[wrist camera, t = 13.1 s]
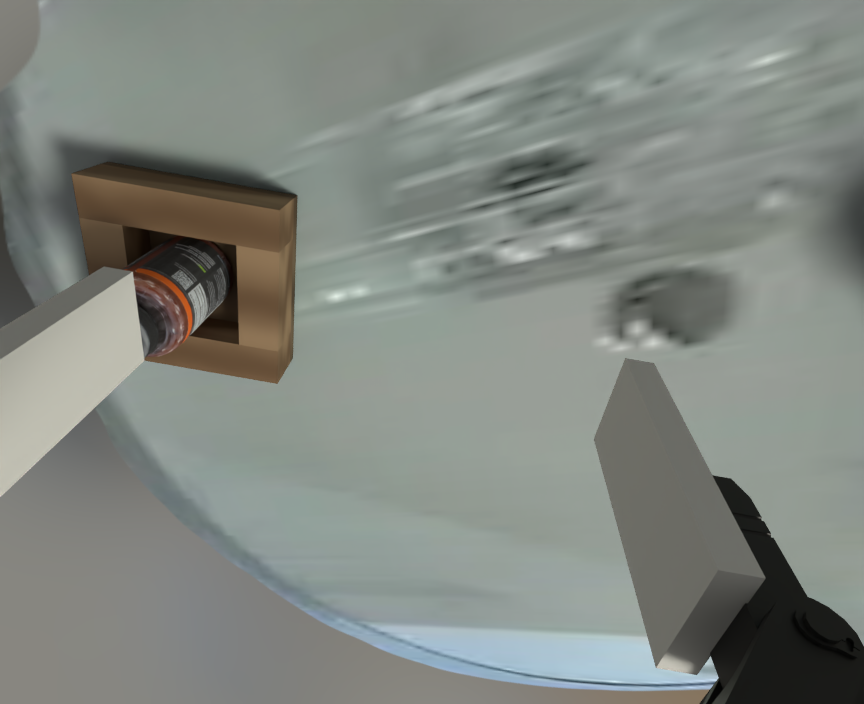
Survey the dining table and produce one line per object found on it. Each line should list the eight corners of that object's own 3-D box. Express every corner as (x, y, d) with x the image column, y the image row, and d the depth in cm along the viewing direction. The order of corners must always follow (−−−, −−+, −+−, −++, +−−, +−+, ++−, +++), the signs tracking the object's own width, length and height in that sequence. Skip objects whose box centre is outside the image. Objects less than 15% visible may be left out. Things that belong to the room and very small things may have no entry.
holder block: (107, 161, 40) (71, 173, 36) (297, 195, 40) (279, 210, 36) (131, 329, 47) (102, 353, 43) (292, 358, 47) (277, 383, 43)
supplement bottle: (156, 288, 44) (61, 359, 34) (165, 219, 41) (64, 275, 31) (229, 315, 44) (156, 392, 34) (243, 249, 41) (168, 313, 32)
